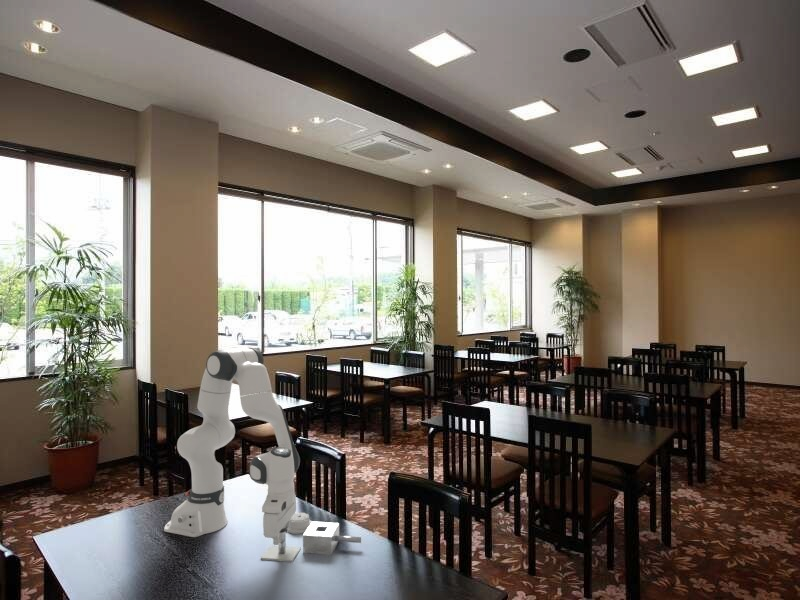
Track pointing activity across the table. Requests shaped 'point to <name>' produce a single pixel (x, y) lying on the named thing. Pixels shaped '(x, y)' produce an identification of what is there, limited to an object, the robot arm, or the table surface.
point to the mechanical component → (299, 523)
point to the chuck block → (324, 538)
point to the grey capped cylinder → (282, 540)
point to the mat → (274, 555)
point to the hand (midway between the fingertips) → (281, 537)
